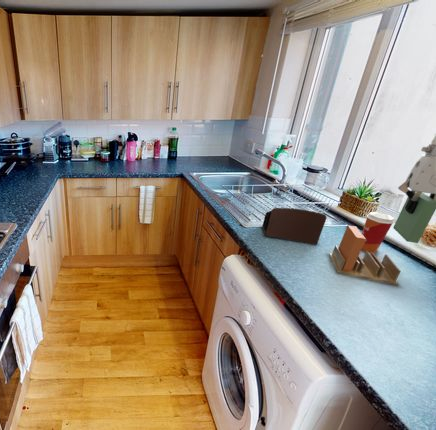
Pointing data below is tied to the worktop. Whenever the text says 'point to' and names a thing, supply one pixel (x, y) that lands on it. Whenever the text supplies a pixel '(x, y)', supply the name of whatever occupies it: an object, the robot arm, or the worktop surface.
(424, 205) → the green book
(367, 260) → the book rack
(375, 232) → the coffee cup
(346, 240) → the orange book
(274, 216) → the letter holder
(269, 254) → the worktop surface
